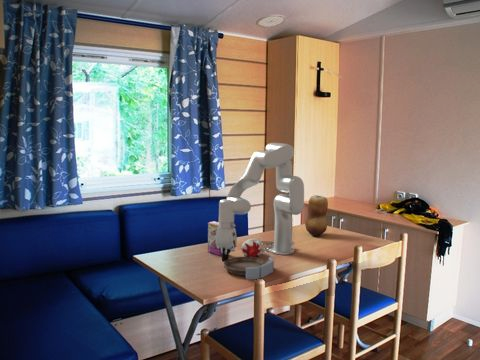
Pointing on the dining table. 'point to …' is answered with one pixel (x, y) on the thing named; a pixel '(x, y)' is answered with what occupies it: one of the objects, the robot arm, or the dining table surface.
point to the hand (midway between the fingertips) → (225, 261)
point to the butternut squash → (317, 215)
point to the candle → (251, 248)
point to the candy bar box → (213, 238)
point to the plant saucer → (242, 264)
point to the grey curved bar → (260, 270)
